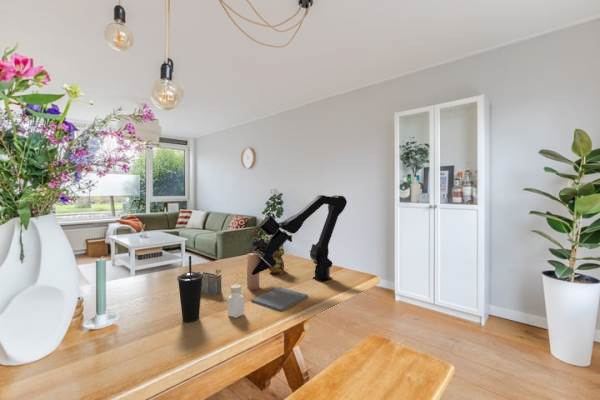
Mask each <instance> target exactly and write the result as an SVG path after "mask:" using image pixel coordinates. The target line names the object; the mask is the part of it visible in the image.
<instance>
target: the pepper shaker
mask: <svg viewBox="0 0 600 400" xmlns="http://www.w3.org/2000/svg"><path fill="white" fill-rule="evenodd" d="M241 290H242V286H241V285H240V284H233V285H231V286H230V295H229V296H228V297H227V316H229V317H231V318H235V319H236V318H239V317H241V316H243V315H244V314H245V296H244V295H242V294H241V293H242V291H241Z"/></svg>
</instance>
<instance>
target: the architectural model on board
mask: <svg viewBox="0 0 600 400" xmlns="http://www.w3.org/2000/svg"><path fill="white" fill-rule="evenodd" d="M197 272H198V273H201V271H197ZM221 272H222V269H218V268H216V270H215V273H212V272H205V271H203V272H202V274H203V278H202V287H201V293H203V294H209V295H214V296H218V295H220V294H222V274H220V273H221ZM219 274H220V275H219Z"/></svg>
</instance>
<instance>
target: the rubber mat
mask: <svg viewBox="0 0 600 400" xmlns="http://www.w3.org/2000/svg"><path fill="white" fill-rule="evenodd" d="M308 297H309V294H307V293H303V292H299V291H295V290H292V289H288V288H285V287H281V286H279V287H277V288H274V289H272V290H269V291H267V292H266V293H263V294H260V295H258V296H256V297H254V298H251V302H252V303H255V304H258V305H260V306H264V307H265V308H266V307H268V308H270V309H273V310H276V311H279V312H282V311H284V310H286V309H288V308H290V307H292V306H294V305H296V304H297V303H299V302H301V301H303V300H304V299H306V298H308Z"/></svg>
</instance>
